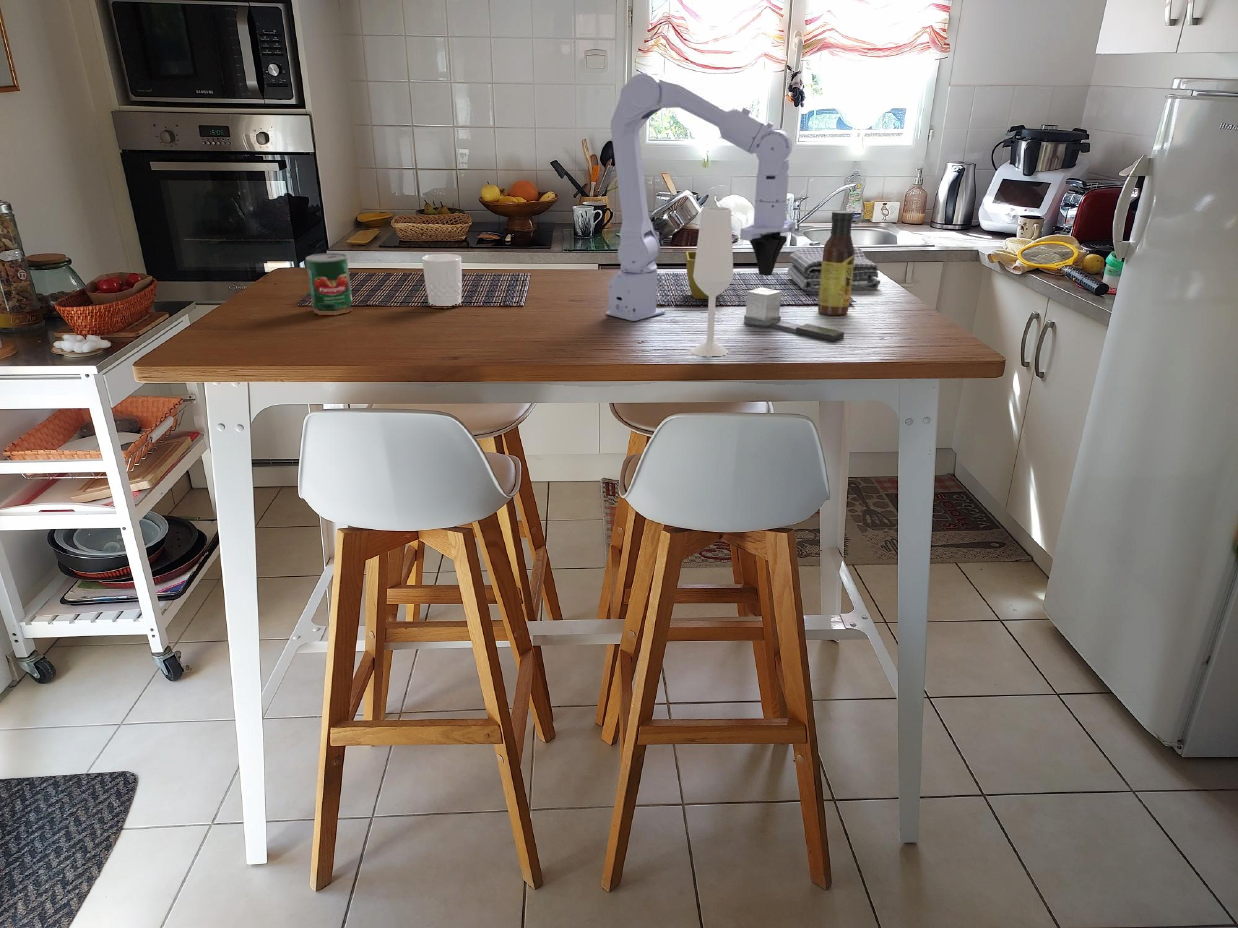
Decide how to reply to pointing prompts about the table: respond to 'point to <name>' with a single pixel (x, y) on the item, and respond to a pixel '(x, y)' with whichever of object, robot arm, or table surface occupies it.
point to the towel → (809, 269)
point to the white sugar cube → (763, 304)
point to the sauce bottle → (837, 266)
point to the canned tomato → (329, 281)
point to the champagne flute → (713, 268)
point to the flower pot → (694, 288)
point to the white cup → (443, 279)
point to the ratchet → (797, 329)
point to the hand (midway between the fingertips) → (765, 274)
